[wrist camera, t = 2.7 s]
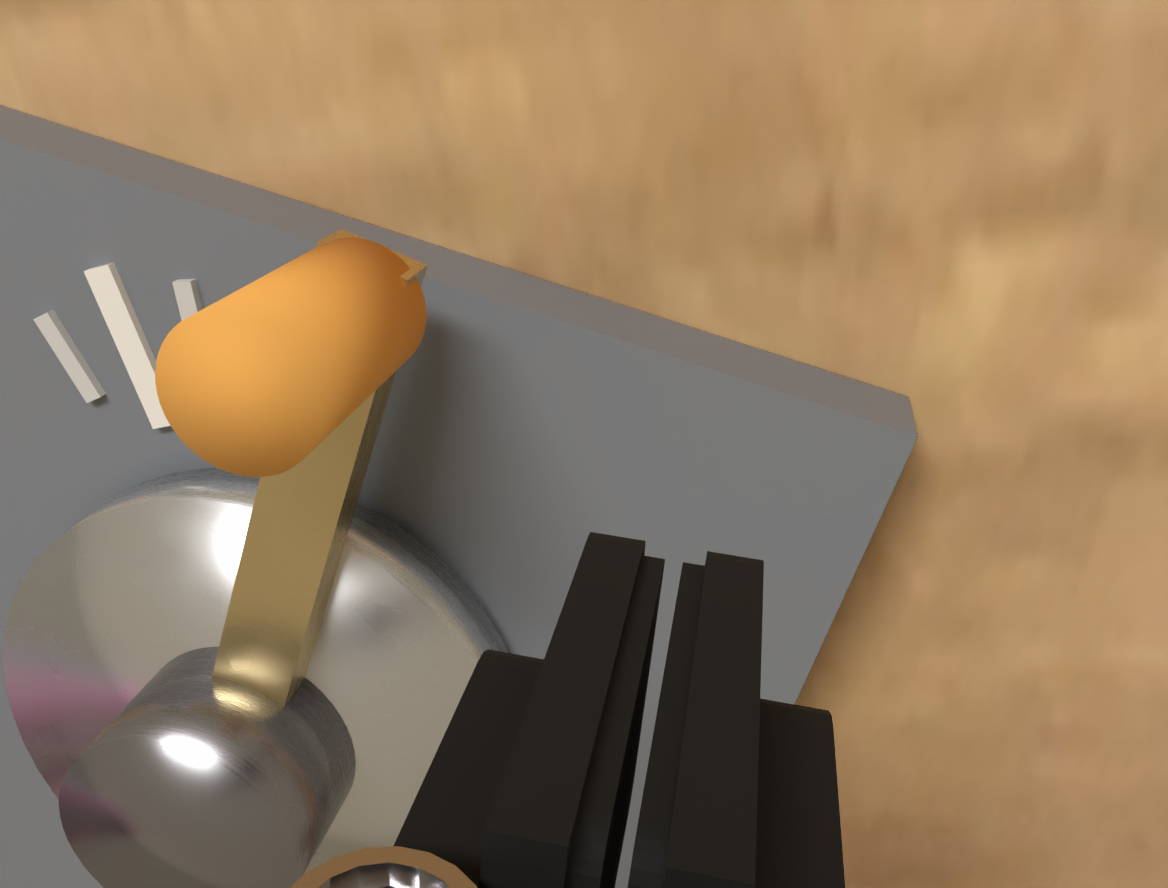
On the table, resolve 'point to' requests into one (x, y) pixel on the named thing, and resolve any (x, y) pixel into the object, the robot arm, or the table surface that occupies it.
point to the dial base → (419, 424)
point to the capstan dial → (250, 604)
